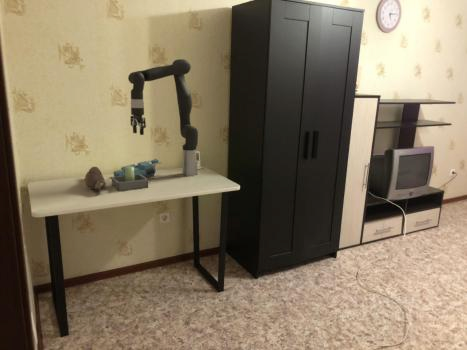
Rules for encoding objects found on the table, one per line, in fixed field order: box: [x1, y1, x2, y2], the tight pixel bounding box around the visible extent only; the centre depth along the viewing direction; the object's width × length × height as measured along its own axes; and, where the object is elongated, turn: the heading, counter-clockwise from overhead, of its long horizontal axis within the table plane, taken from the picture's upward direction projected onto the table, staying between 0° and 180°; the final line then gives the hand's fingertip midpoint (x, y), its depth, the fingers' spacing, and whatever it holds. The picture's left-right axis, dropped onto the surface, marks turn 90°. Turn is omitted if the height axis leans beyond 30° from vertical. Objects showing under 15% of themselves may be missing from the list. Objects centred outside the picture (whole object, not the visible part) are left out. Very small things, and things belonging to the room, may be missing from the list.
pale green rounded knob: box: [124, 165, 135, 182], centre depth 221 cm, size 5×5×11 cm
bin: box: [111, 174, 149, 192], centre depth 222 cm, size 17×14×5 cm
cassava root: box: [84, 166, 107, 191], centre depth 220 cm, size 41×11×10 cm
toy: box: [113, 158, 163, 178], centre depth 246 cm, size 22×9×30 cm
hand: (138, 134), depth 225 cm, fingers open, 8 cm apart
